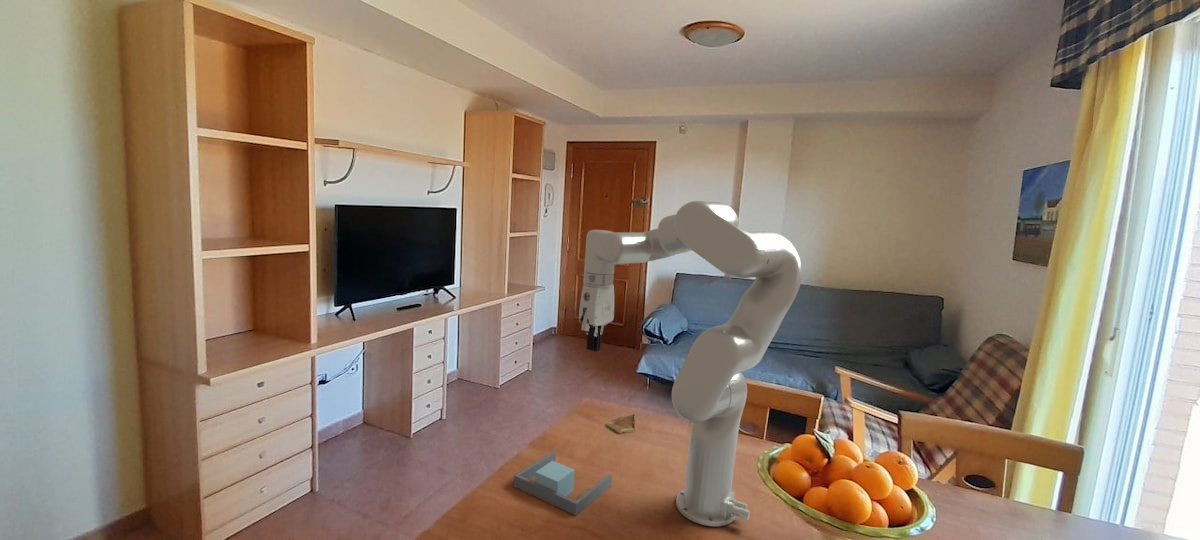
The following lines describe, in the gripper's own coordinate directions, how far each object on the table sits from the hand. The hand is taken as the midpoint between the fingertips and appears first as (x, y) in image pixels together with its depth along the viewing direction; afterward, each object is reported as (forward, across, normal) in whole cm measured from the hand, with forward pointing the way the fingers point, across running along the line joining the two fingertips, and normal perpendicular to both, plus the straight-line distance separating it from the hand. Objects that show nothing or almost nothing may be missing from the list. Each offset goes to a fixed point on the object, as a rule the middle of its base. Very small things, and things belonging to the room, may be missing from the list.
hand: (593, 349), depth 129 cm
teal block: (+25, -24, -7) cm, 35 cm away
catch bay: (+25, -20, -8) cm, 33 cm away
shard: (+26, +15, -2) cm, 30 cm away
